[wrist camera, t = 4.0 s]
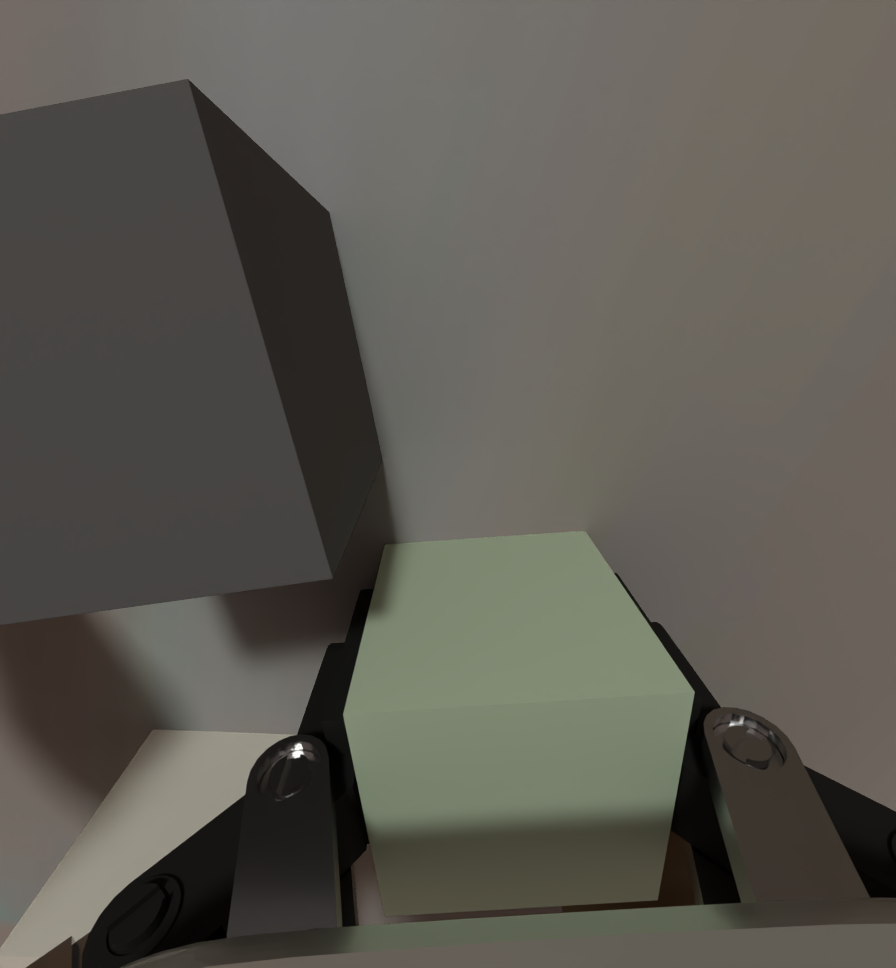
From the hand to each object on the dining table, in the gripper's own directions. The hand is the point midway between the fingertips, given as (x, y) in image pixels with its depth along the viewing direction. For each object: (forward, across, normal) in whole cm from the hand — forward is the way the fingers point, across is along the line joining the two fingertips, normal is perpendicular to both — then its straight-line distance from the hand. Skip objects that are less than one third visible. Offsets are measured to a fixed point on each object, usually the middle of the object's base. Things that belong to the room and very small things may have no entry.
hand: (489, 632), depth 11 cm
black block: (+1, +5, -7) cm, 9 cm away
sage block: (+1, 0, 0) cm, 1 cm away
